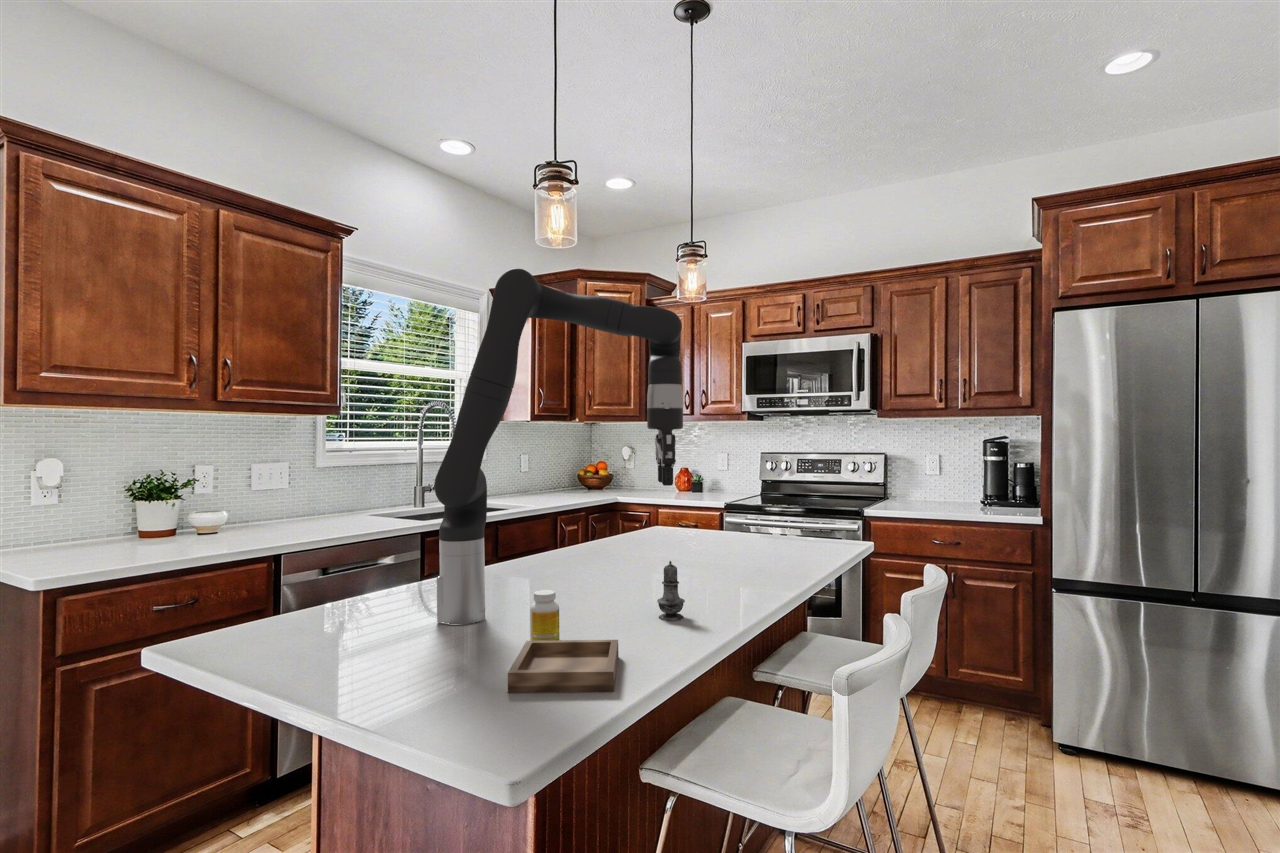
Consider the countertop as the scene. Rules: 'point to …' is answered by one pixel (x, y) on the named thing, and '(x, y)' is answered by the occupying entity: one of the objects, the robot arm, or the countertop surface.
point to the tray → (564, 666)
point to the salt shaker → (670, 595)
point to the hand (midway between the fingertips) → (665, 483)
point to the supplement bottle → (544, 616)
